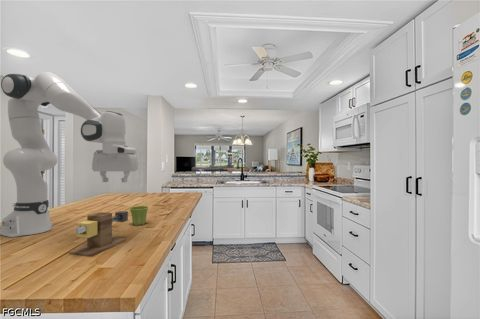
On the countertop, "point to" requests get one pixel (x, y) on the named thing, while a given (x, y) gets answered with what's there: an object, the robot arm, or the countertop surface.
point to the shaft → (118, 217)
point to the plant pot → (139, 214)
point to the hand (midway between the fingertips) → (114, 182)
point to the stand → (99, 236)
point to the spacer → (88, 228)
